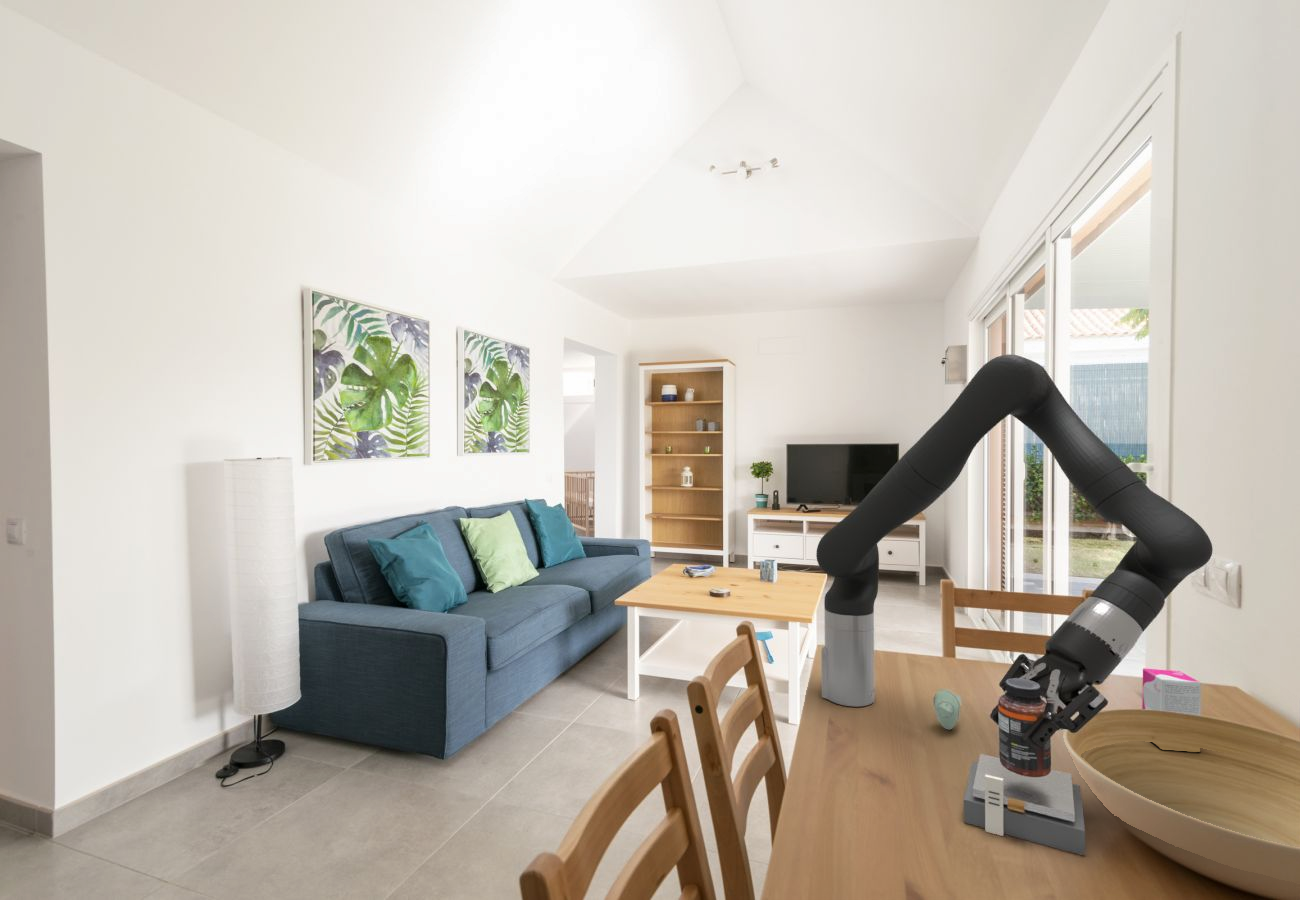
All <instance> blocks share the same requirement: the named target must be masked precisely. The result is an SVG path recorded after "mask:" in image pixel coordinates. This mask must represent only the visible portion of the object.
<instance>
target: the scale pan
mask: <svg viewBox="0 0 1300 900" xmlns="http://www.w3.org/2000/svg"><path fill="white" fill-rule="evenodd" d="M977 762H978V766H977V771H976V776H975V780H974V785H973V796H975V797H978V798H982V799H985V774H986V775H990V776H994V777H999V778H1003V804H1006V805H1008V809H1011V810H1015V811H1019V812H1023V813H1024V810H1029V811H1033V812H1037V813H1041V814H1045V815H1049V816H1053V817H1056V818H1060V819H1064V820H1068V821H1072V822H1075V812H1074V800H1073V788H1072V784H1073V777H1072V774H1071V773H1068V772H1064V771H1060V770H1054V769H1051V771H1050V773H1049V774H1048V775H1046V776H1044V777H1027V776H1022V775H1019V774H1016V773H1014V772H1011V771H1009V770H1007V769H1006V768H1005V767H1004V766H1003V765H1002V764H1001V762H1000V757H996V756H992V755H987V754H983V753H979V758H978V761H977Z"/></svg>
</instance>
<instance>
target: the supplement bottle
mask: <svg viewBox="0 0 1300 900" xmlns="http://www.w3.org/2000/svg"><path fill="white" fill-rule="evenodd" d="M1006 691H1007V692H1006V694H1005V693H1004V694H1001V695H1000V696H999V698H998V701H997V702H998V703H997V705H998V708H999V709H998V716H999V725H998V746H999V748H998V749H999V751H998V752H999V754H998V755H999V758H1000V762H1001V764H1002V765H1003V766H1004V767H1005V768H1006V769H1007V770H1009V771H1011V772H1014V773H1016V774H1019V775H1022V776H1027V777H1044V776H1046V775H1048V774H1049V773H1050V771H1051V770H1052V745H1051V742H1052V741H1051V738H1050V739H1049V740H1048V741H1047V742H1046V744H1045V745H1044V746H1042V747H1040V748H1039V749H1038V750H1035V749H1033V748H1032V747H1030V746H1029V745H1028V744H1027V743H1026V742H1025V741H1024V740H1023V735H1024V734H1025V733H1026V731H1027V730H1028V729H1029V728H1030V727H1031V726H1032V724H1033V723H1034V722H1035V721H1036V720H1037V719H1038V718H1039V716H1041V717H1043V718H1044V716H1043V713H1044V710H1045V707H1046V704H1047V702H1046V700H1044V699H1043V698H1042V699H1041V698H1040V695H1041V693H1040V685H1039V684H1038V683H1036V682H1034V681H1031V680H1027V679H1021V678H1012V679H1008V680H1006Z"/></svg>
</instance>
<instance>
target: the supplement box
mask: <svg viewBox="0 0 1300 900" xmlns="http://www.w3.org/2000/svg"><path fill="white" fill-rule="evenodd" d="M1141 701H1142V704H1141V705H1142V707H1141V710H1142V709H1145V710H1160V711H1170V712H1176V713H1184V714H1191V715H1198V716H1201V717H1202V682H1200V681H1199V680H1197V679H1195V678H1193V677H1191V676H1189V675H1188V674H1186V673H1184V672H1182V671H1180V670H1169V669H1157V668H1156V669H1155V668H1147V667H1146V668H1144V667H1143V668H1142V700H1141Z"/></svg>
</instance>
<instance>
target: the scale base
mask: <svg viewBox="0 0 1300 900" xmlns="http://www.w3.org/2000/svg"><path fill="white" fill-rule="evenodd" d="M977 766H978V761H976V760H975V761H974V760H972V763H971V766H970V767H971V768H970V771H969V774H968V775H969V776H968V780H967V785H966V789H965V793H964V798H963V822H964V824H968V825H971V824H972V825H971V826H975V827H978V826H980V827H979V828H981V829H984V830H985V831H984V832H987V833H990V834H994V835H996V834H997V836H1001V837H1004V834H1005V835H1008V836H1011V837H1014V838H1018V839H1020V840H1021V839H1022V840H1025V841H1029V842H1032V843H1036V844H1040V845H1044V846H1047V847H1050V848H1054V849H1058V850H1061V851H1065V852H1068V853H1072V854H1075V853H1076V854H1075V855H1080V856H1082V855H1084V856H1083V857H1086V827H1085V820H1084V819H1085V818H1084V809H1083V801H1082V792H1081V785H1078V784H1075V783H1072V788H1073V800H1074V812H1075V822H1072V821H1068V820H1064V819H1060V818H1056V817H1053V816H1049V815H1045V814H1041V813H1037V812H1033V811H1029V810H1024V813H1023V812H1019V811H1015V810H1011V809H1008V805H1006V804H1003V778H999V777H994V776H990V775H986V774H985V799H982V798H978V797H975V796H973V785H974V780H975V776H976V771H977Z"/></svg>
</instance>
